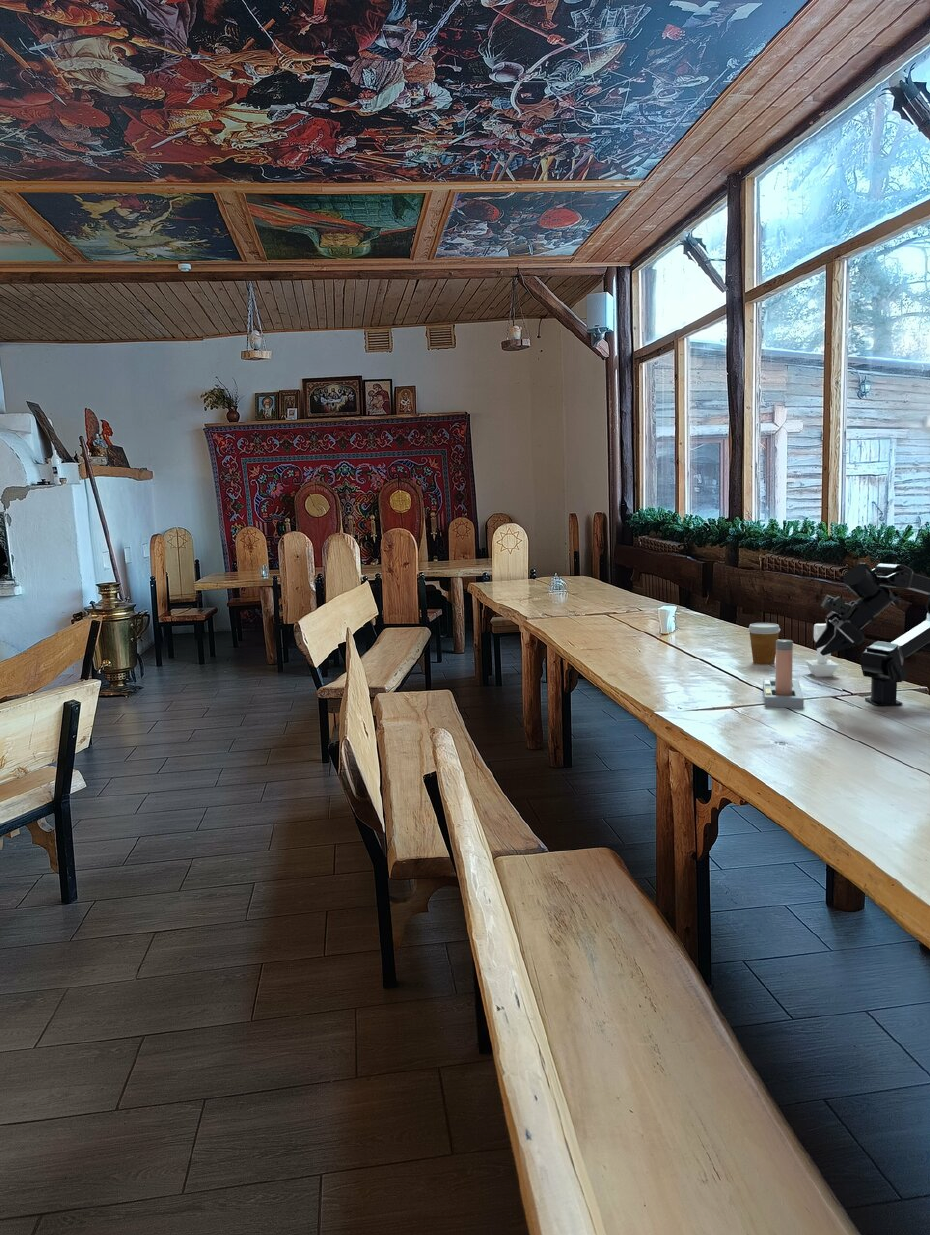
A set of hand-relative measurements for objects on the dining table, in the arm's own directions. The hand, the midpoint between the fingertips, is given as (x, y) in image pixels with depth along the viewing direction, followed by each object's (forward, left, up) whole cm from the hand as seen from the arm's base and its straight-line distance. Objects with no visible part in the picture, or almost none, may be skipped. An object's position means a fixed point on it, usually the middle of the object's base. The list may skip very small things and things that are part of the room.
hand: (818, 650), depth 201 cm
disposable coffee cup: (+49, -4, -14) cm, 51 cm away
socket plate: (+7, +6, -14) cm, 16 cm away
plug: (+2, +8, -14) cm, 16 cm away
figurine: (+30, -14, -14) cm, 36 cm away
